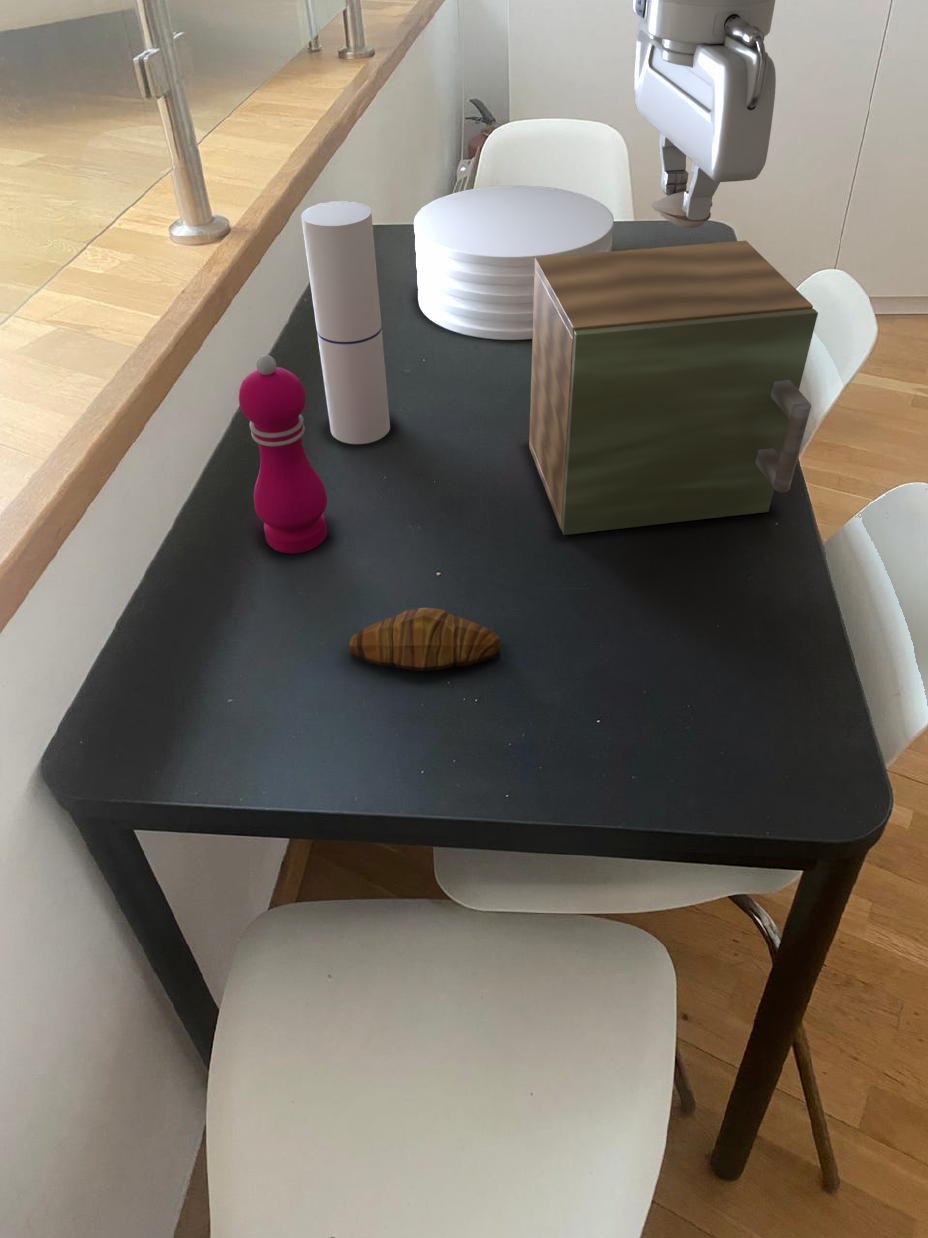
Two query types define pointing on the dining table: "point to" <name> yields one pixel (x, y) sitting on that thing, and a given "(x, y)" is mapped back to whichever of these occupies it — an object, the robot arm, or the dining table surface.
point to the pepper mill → (283, 460)
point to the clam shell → (676, 211)
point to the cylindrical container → (348, 318)
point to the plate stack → (499, 253)
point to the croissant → (425, 641)
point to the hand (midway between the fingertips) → (683, 204)
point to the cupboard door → (684, 419)
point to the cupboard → (631, 317)
